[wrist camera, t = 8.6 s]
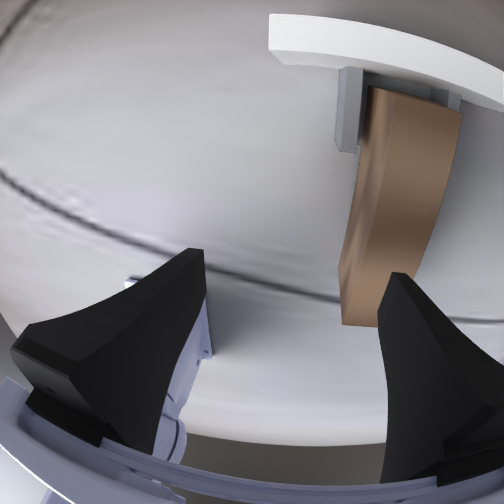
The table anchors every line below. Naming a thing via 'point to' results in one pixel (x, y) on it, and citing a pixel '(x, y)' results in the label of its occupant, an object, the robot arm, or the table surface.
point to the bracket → (382, 67)
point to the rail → (394, 196)
